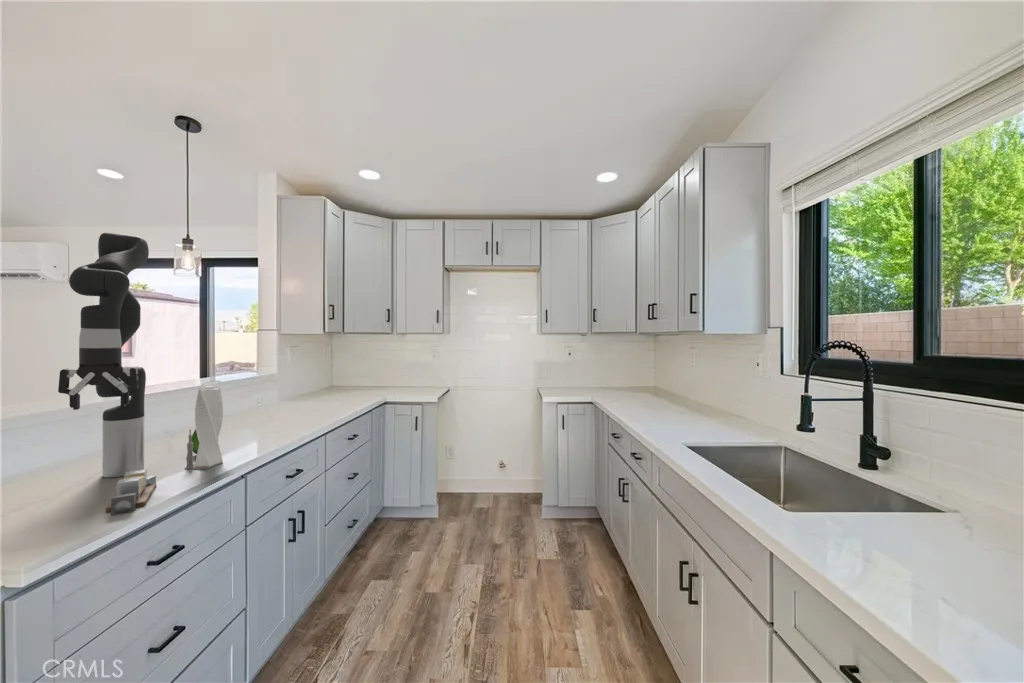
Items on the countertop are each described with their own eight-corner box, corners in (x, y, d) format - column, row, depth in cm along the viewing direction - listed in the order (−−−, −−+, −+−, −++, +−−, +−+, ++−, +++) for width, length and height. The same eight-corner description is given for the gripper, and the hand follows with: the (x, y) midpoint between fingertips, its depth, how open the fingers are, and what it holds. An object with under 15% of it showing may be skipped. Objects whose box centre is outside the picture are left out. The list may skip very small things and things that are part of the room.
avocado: (210, 457, 137) (210, 423, 137) (184, 458, 136) (185, 424, 136) (222, 450, 145) (222, 419, 145) (198, 451, 144) (199, 419, 144)
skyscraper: (206, 461, 133) (207, 380, 133) (229, 461, 132) (229, 380, 132) (184, 469, 124) (185, 382, 124) (208, 469, 124) (209, 383, 124)
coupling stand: (124, 488, 108) (125, 474, 108) (158, 483, 112) (158, 469, 112) (101, 517, 91) (101, 500, 91) (142, 509, 95) (142, 493, 95)
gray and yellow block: (116, 503, 96) (116, 483, 96) (126, 490, 104) (126, 471, 104) (138, 499, 98) (138, 480, 98) (146, 487, 107) (146, 469, 107)
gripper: (54, 346, 93) (54, 413, 94) (135, 346, 101) (135, 407, 102) (65, 345, 99) (65, 407, 100) (141, 345, 108) (140, 403, 108)
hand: (100, 407), depth 101 cm, fingers open, 8 cm apart
